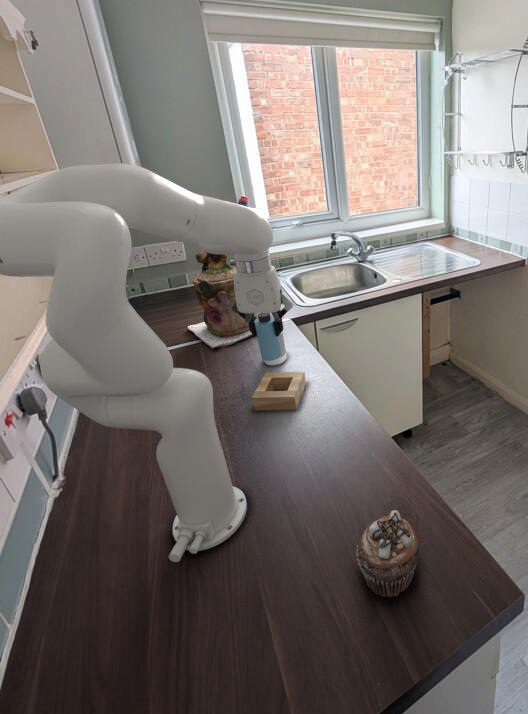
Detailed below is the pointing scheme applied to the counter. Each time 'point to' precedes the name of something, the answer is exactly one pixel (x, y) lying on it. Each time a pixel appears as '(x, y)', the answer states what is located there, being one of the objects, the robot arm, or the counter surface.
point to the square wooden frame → (279, 399)
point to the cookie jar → (218, 302)
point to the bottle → (267, 337)
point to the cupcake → (388, 554)
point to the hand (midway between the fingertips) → (267, 333)
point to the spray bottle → (284, 356)
